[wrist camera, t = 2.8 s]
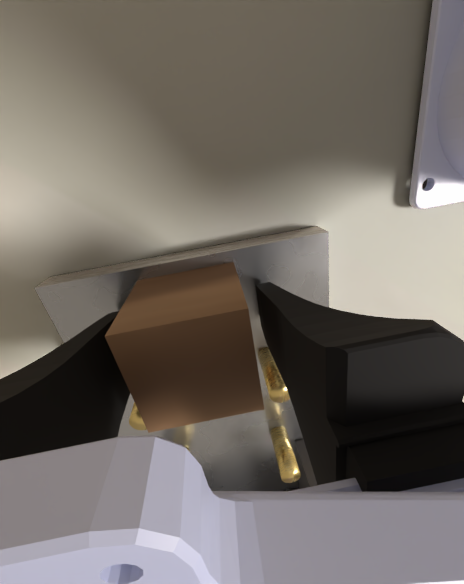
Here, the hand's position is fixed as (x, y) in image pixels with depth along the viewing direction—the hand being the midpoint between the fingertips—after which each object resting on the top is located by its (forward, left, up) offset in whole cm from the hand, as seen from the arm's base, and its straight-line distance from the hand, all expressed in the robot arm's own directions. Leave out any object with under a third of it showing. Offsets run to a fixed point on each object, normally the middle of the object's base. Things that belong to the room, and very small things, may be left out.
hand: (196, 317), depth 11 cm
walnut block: (0, 0, 0) cm, 0 cm away
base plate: (+7, 0, -2) cm, 7 cm away
